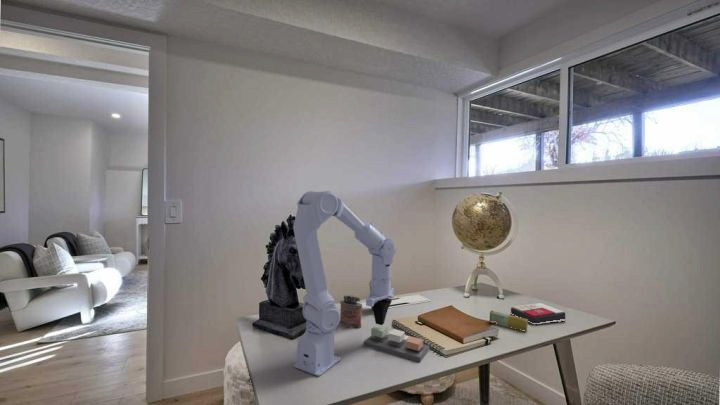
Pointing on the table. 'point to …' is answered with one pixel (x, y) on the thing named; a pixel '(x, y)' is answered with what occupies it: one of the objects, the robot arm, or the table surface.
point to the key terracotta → (414, 343)
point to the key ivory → (396, 335)
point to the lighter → (350, 312)
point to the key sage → (379, 331)
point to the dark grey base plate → (396, 347)
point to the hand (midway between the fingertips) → (379, 323)
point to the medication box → (509, 320)
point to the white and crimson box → (537, 312)
